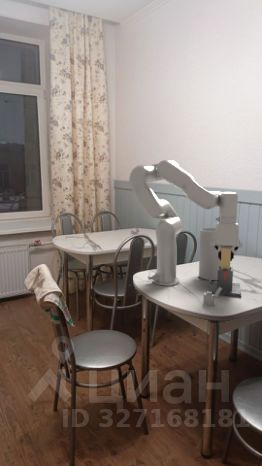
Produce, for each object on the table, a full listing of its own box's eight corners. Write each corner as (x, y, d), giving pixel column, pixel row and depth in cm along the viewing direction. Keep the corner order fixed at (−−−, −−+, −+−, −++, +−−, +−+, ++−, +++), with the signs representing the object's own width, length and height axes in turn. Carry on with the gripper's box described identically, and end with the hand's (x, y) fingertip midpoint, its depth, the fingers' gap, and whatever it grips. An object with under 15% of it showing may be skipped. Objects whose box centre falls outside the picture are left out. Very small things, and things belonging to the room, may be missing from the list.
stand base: (208, 294, 150) (208, 270, 148) (209, 284, 163) (210, 261, 161) (240, 297, 146) (242, 272, 144) (239, 286, 159) (240, 263, 157)
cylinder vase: (226, 280, 168) (228, 231, 163) (201, 280, 168) (203, 231, 163) (219, 273, 180) (221, 227, 176) (196, 273, 180) (198, 227, 176)
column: (219, 282, 152) (220, 246, 149) (219, 279, 157) (220, 244, 154) (230, 283, 151) (232, 246, 148) (230, 280, 156) (231, 244, 152)
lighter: (203, 303, 139) (203, 285, 138) (204, 302, 141) (205, 284, 139) (220, 307, 136) (221, 288, 134) (221, 305, 137) (222, 287, 136)
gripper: (207, 220, 147) (206, 261, 151) (248, 222, 143) (245, 263, 146) (208, 218, 154) (207, 256, 158) (246, 219, 150) (244, 259, 153)
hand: (225, 259), depth 152 cm, fingers closed on column, 4 cm apart
